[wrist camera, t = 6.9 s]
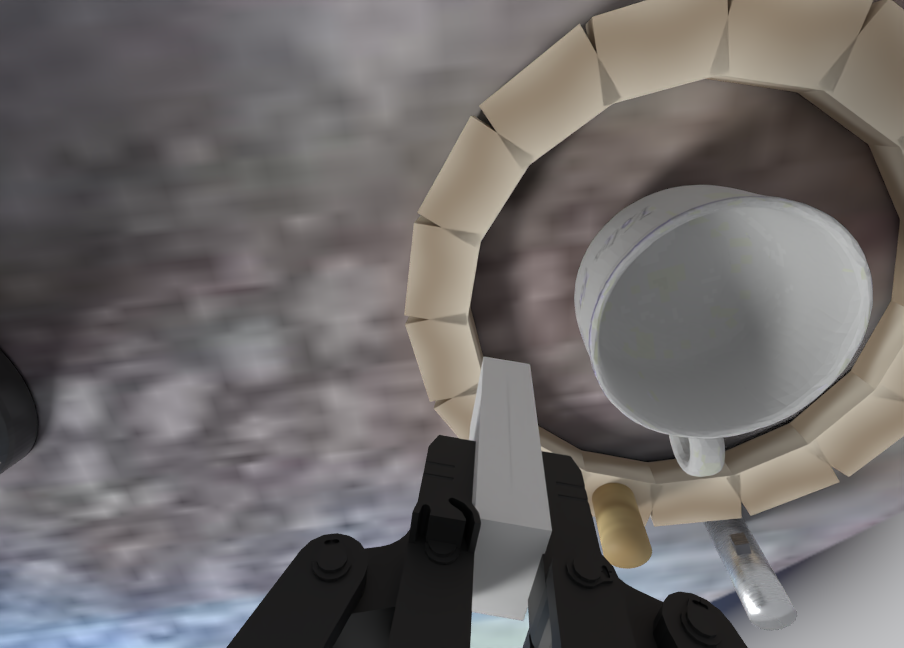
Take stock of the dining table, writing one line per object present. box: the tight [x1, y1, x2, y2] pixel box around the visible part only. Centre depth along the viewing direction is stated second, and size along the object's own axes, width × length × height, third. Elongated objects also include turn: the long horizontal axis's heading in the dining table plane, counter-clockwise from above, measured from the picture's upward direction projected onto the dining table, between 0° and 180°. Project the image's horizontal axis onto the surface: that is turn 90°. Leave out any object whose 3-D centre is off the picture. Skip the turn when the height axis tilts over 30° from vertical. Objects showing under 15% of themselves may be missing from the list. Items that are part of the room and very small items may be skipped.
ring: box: [404, 0, 904, 568], centre depth 24 cm, size 29×29×6 cm
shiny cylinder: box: [703, 516, 797, 630], centre depth 29 cm, size 3×3×7 cm
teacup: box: [574, 185, 873, 477], centre depth 23 cm, size 14×11×8 cm
